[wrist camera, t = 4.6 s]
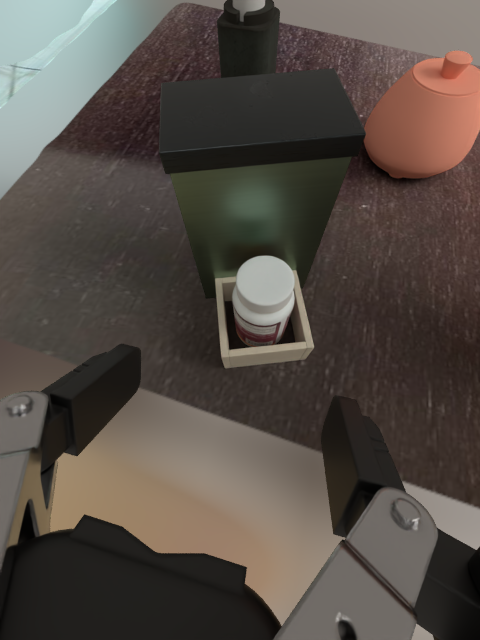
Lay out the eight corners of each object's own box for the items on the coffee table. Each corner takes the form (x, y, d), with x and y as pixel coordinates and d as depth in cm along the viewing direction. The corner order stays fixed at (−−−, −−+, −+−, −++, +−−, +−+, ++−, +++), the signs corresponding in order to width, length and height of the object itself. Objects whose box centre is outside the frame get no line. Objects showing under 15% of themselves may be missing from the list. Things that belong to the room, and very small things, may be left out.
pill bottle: (260, 296, 27) (265, 239, 19) (294, 327, 25) (315, 279, 18) (224, 325, 26) (215, 277, 18) (259, 360, 24) (265, 324, 16)
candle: (224, 158, 36) (183, -337, 13) (237, 136, 38) (223, -330, 15) (259, 167, 35) (283, -349, 12) (271, 143, 37) (312, -340, 14)
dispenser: (305, 290, 27) (367, 133, 13) (204, 300, 27) (158, 152, 13) (293, 241, 30) (334, 67, 16) (201, 250, 29) (160, 82, 16)
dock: (305, 359, 24) (314, 347, 21) (224, 368, 24) (221, 357, 21) (290, 289, 27) (296, 269, 24) (218, 297, 27) (214, 278, 24)
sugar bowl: (340, 138, 37) (372, 37, 27) (430, 119, 38) (489, 16, 29) (384, 199, 32) (441, 100, 23) (485, 175, 33) (578, 72, 24)
